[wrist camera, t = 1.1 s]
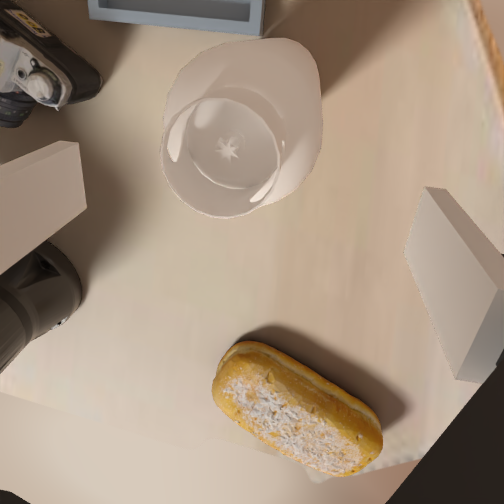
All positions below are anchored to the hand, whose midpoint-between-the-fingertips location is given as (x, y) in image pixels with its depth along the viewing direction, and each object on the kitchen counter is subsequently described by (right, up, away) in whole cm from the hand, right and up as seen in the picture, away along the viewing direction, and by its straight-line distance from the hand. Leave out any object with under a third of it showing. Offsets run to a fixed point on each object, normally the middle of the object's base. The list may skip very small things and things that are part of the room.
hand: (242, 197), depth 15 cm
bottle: (+3, +15, +25) cm, 29 cm away
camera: (-23, +18, +27) cm, 40 cm away
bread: (+7, -23, +45) cm, 51 cm away
